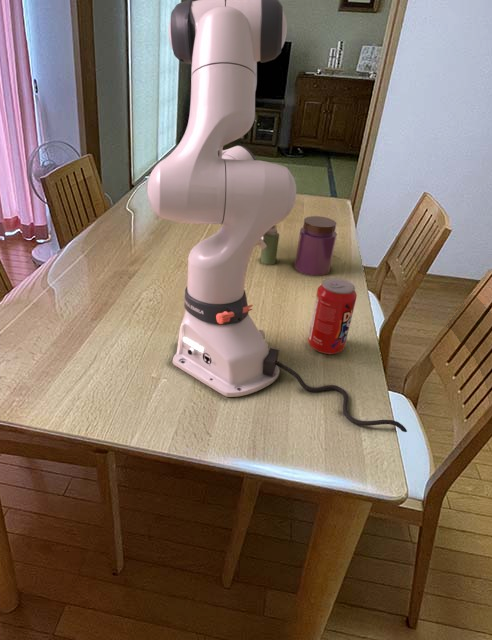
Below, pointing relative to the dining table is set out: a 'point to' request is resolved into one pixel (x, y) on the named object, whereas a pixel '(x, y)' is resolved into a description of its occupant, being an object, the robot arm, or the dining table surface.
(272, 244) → the green shaker
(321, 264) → the plum jar
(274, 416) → the dining table surface
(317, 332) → the soda can
